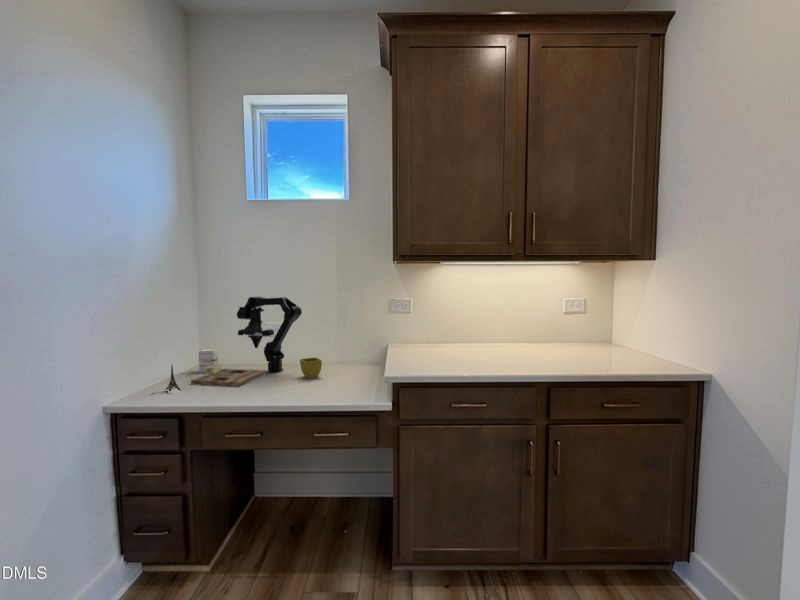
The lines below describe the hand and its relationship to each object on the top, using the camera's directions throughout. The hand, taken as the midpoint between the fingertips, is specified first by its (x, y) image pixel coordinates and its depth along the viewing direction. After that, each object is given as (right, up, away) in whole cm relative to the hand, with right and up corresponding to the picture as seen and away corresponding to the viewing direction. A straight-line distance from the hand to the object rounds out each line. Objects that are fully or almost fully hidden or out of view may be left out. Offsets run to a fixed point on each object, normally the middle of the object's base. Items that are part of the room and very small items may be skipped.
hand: (256, 348), depth 227 cm
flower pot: (+33, -13, -16) cm, 39 cm away
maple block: (-15, -12, -18) cm, 26 cm away
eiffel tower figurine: (-25, -16, -38) cm, 48 cm away
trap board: (-7, -14, -19) cm, 24 cm away
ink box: (-25, -13, -2) cm, 28 cm away
